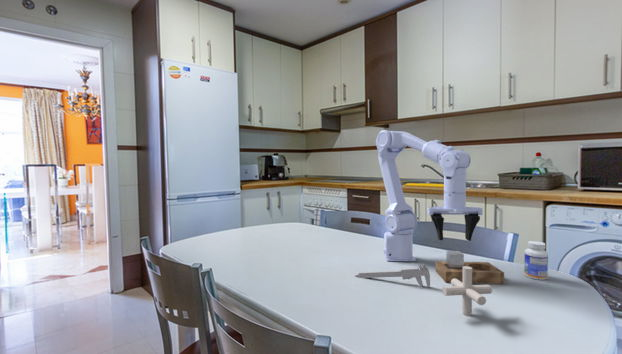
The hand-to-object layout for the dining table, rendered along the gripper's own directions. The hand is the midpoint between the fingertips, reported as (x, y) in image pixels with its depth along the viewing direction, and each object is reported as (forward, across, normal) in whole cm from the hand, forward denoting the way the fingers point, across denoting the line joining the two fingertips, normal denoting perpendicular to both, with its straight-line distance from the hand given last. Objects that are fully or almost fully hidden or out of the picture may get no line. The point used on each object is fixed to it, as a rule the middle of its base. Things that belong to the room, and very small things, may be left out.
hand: (454, 239), depth 90 cm
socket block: (+10, +3, -1) cm, 11 cm away
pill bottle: (+10, +22, 0) cm, 25 cm away
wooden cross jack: (+10, -6, -24) cm, 27 cm away
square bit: (+10, 0, -1) cm, 10 cm away
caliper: (+11, -19, -6) cm, 23 cm away
